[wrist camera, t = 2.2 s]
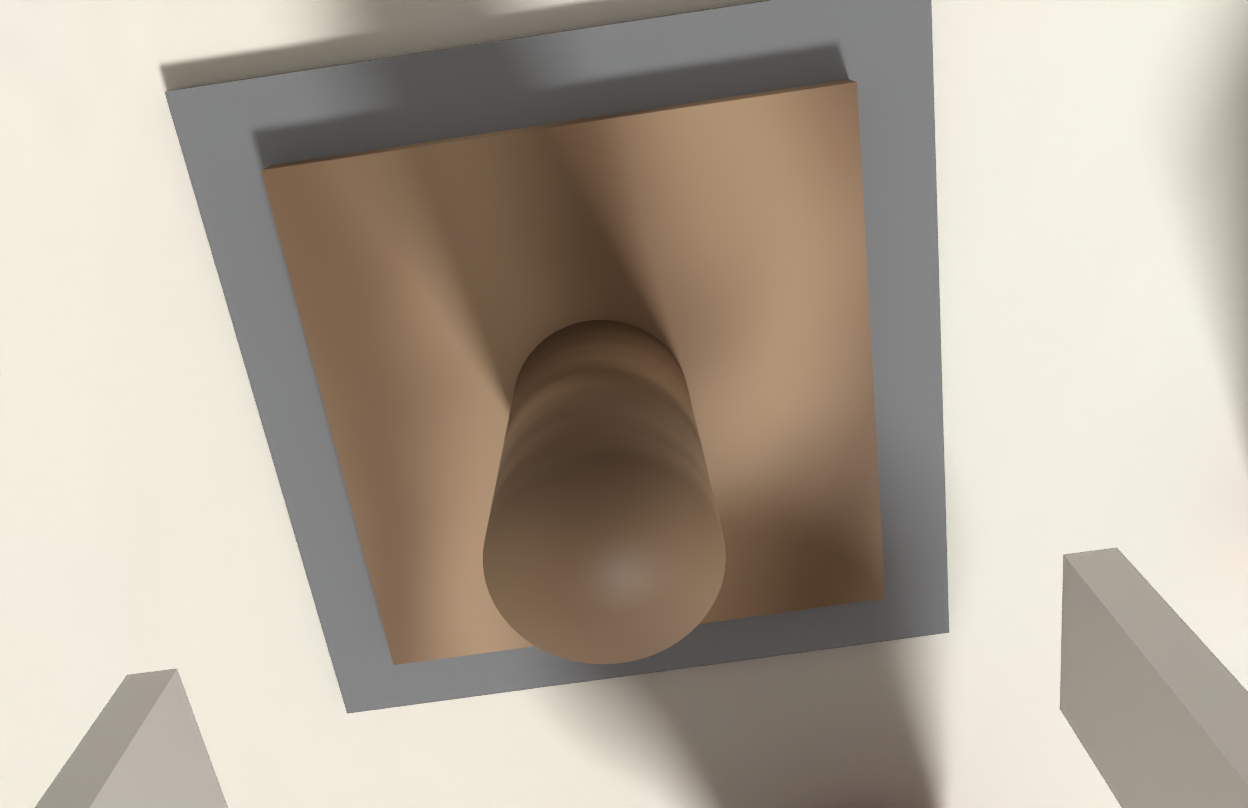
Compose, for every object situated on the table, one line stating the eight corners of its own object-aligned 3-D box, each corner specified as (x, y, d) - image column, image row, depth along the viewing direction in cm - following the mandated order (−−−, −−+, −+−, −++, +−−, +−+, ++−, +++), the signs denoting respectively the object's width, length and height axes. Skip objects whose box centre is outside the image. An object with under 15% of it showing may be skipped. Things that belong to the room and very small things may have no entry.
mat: (350, 702, 31) (347, 713, 31) (172, 90, 25) (165, 92, 24) (943, 622, 31) (948, 632, 30) (924, -24, 24) (930, -24, 24)
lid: (398, 648, 30) (325, 892, 22) (270, 165, 25) (114, 248, 17) (877, 583, 30) (986, 807, 22) (849, 79, 25) (977, 121, 16)
